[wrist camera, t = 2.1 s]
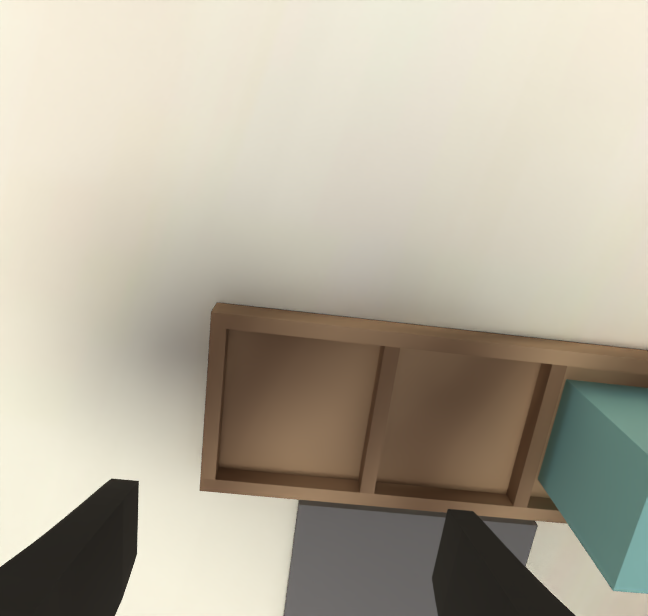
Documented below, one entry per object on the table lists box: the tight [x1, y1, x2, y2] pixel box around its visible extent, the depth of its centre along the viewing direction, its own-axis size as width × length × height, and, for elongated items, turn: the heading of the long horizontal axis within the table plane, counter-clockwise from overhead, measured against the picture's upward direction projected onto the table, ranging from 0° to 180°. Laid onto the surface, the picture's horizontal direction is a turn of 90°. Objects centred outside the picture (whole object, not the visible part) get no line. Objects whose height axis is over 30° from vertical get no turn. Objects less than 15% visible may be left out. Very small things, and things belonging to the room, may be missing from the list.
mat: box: [284, 500, 537, 616], centre depth 21 cm, size 9×9×1 cm
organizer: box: [200, 303, 648, 523], centre depth 18 cm, size 17×6×1 cm, turn 83°
